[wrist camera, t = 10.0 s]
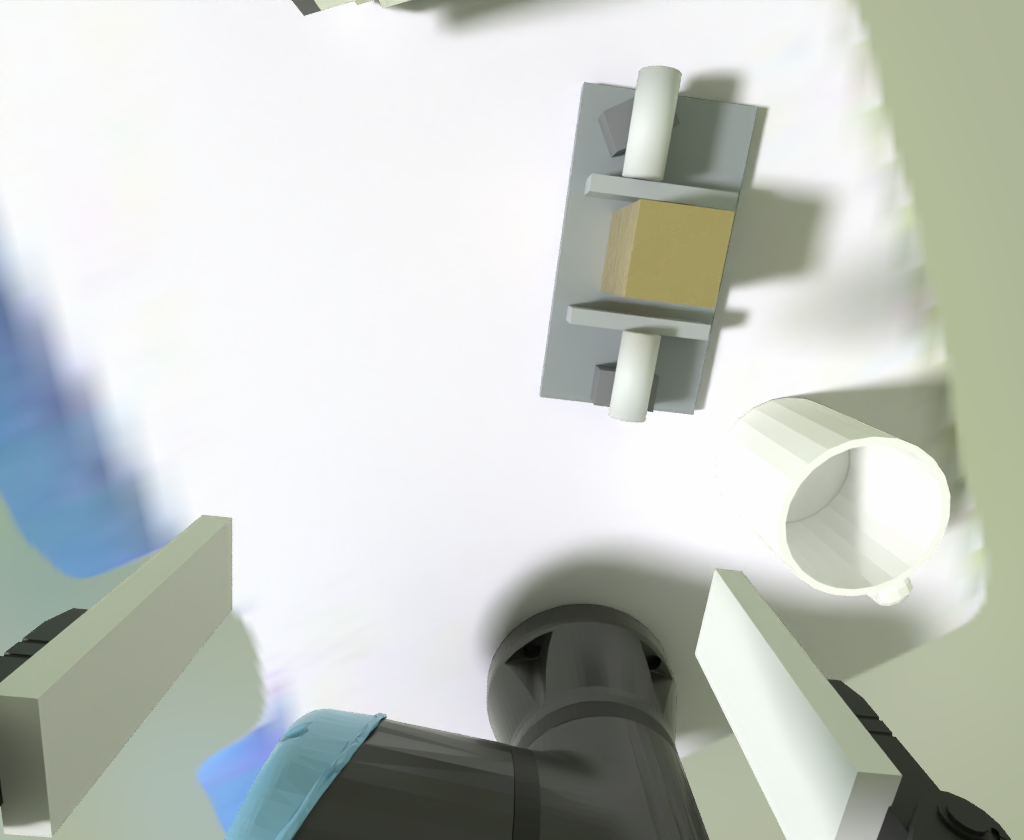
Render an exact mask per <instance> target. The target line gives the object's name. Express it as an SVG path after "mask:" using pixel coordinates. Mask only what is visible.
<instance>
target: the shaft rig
mask: <svg viewBox="0 0 1024 840" xmlns="http://www.w3.org/2000/svg"><path fill="white" fill-rule="evenodd" d="M681 76H682V73H681V72H680V71H679V70H677V69H674V68H671V67H666V66H648V67H644V68H642V69H640V70H639V73H638V79H637V85H636V90H635V89H628V88H621V87H614V86H607V85H600V84H593V83H586V82H584V84H583V86H582V91H581V98H580V105H579V113H578V120H577V127H576V134H575V141H574V149H573V156H572V163H571V170H570V178H569V185H568V192H567V199H566V207H565V214H564V221H563V228H562V236H561V243H560V250H559V257H558V264H557V272H556V279H555V286H554V293H553V301H552V308H551V315H550V322H549V330H548V337H547V344H546V351H545V358H544V366H543V373H542V380H541V387H540V397H546V398H555V399H563V400H572V401H580V402H589V403H594V405H599V406H607V407H610V408H609V414H608V415H609V416H610V417H612V418H615V419H618V420H622V421H627V422H644V421H645V419H646V414H647V411H650V412H653V410H657V411H666V412H674V413H683V414H691V415H693V414H694V409H695V404H696V399H697V395H698V390H699V385H700V380H701V376H702V371H703V366H704V361H705V356H706V352H707V347H708V342H709V337H710V333H711V328H712V323H713V318H714V314H715V309H716V306H715V308H708V307H700V306H692V305H684V304H676V303H668V302H660V301H652V300H644V299H636V298H628V297H622V296H618V295H614V294H610V293H606V292H602V291H600V289H601V282H602V276H603V270H604V263H605V257H606V251H607V244H608V238H609V232H610V225H611V219H612V213H613V212H615V211H617V210H619V209H621V208H623V207H626V206H628V205H630V204H632V203H634V202H636V201H638V200H640V199H645V200H652V201H659V202H667V203H674V204H682V205H689V206H697V207H704V208H712V209H719V210H727V211H734V212H735V213H736V208H737V204H738V199H739V194H740V189H741V185H742V180H743V175H744V170H745V165H746V161H747V156H748V151H749V146H750V142H751V137H752V132H753V127H754V122H755V118H756V113H757V108H758V107H754V106H747V105H740V104H733V103H726V102H719V101H712V100H705V99H698V98H691V97H684V96H678V93H679V87H680V81H681ZM734 218H735V215H734ZM733 223H734V219H733ZM732 228H733V224H732ZM731 232H732V229H731ZM730 237H731V234H730ZM729 242H730V239H729ZM728 247H729V243H728ZM727 251H728V248H727ZM726 256H727V253H726ZM725 261H726V258H725ZM724 266H725V262H724ZM723 271H724V267H723ZM722 275H723V272H722ZM721 280H722V277H721ZM720 285H721V282H720ZM719 290H720V286H719ZM718 294H719V291H718ZM717 299H718V296H717ZM716 304H717V301H716Z"/></svg>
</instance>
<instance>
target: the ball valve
mask: <svg viewBox="0 0 1024 840" xmlns="http://www.w3.org/2000/svg"><path fill="white" fill-rule="evenodd" d="M292 1H293V2H294V4H295V5H296V6H297V7H298V9H299V10H300V11H301V12H302V14H303V15H304V16H305V15H308V14H312V13H315V12H319V11H322V10H325V9H329V8H332V7H335V6H339V5H342V4H346V3H349V2H352V1H354V2H355V3H356V4H357V5H359V4H363V3H366V2H369V1H373V0H292ZM406 1H410V0H379V2H380V4H381V6H382V8H386V7H389V6H393V5H396V4H400V3H403V2H406Z"/></svg>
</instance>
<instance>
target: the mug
mask: <svg viewBox="0 0 1024 840" xmlns="http://www.w3.org/2000/svg"><path fill="white" fill-rule="evenodd" d="M716 474H717V483H718V485H719V488H720V490H721V493H722V495H723V497H724V498H725V500H726V501H727V502H728V504H729V505H730V506H731V507H732V509H733V510H734V511H735V512H736V513H737V514H738V515H739V516H740V517H741V518H742V519H743V520H744V521H745V522H746V523H747V525H748V526H749V527H750V528H751V529H752V530H753V531H754V532H755V533H756V534H757V535H758V536H759V537H760V538H761V539H762V540H763V541H764V542H765V543H766V545H767V546H768V547H769V548H770V549H771V550H772V551H773V552H774V553H775V554H776V555H777V556H778V557H779V558H780V559H781V560H782V561H783V562H784V564H785V565H786V566H787V567H788V568H789V569H790V570H791V571H792V572H793V573H794V574H795V575H796V576H797V577H798V578H800V579H801V580H802V581H804V582H805V583H807V584H808V585H810V586H811V587H812V588H814V589H817V590H820V591H823V592H826V593H829V594H832V595H843V596H859V595H866V594H867V595H868V596H869V597H871V598H872V599H873V600H874V601H875V602H877V603H879V604H880V605H884V606H891V605H894V604H898V603H900V602H902V601H903V600H904V599H906V598H907V597H908V596H909V594H910V591H911V589H912V584H911V582H910V579H909V578H908V577H909V576H911V575H912V574H914V573H915V572H916V571H917V570H918V569H919V568H920V567H921V566H922V565H923V564H924V563H925V562H926V561H927V560H928V559H929V558H930V557H931V556H932V555H933V553H934V551H935V550H936V548H937V546H938V545H939V543H940V541H941V540H942V538H943V536H944V533H945V530H946V527H947V524H948V520H949V517H950V492H949V488H948V485H947V481H946V477H945V475H944V473H943V472H942V470H941V469H940V467H939V466H938V464H937V463H936V461H935V460H934V459H933V458H932V457H931V456H929V455H928V454H927V453H926V452H924V451H923V450H922V449H920V448H919V447H918V446H916V445H914V444H911V443H909V442H907V441H904V440H902V439H900V438H897V437H895V436H893V435H890V434H888V433H886V432H884V431H881V430H879V429H877V428H874V427H872V426H870V425H867V424H865V423H863V422H860V421H858V420H856V419H854V418H851V417H849V416H847V415H844V414H842V413H840V412H837V411H835V410H833V409H830V408H828V407H826V406H823V405H821V404H818V403H816V402H813V401H810V400H808V399H802V398H791V397H787V398H781V399H775V400H770V401H768V402H765V403H763V404H761V405H758V406H756V407H754V408H752V409H751V410H750V411H748V412H747V413H746V414H744V415H743V416H742V417H740V418H739V419H738V420H737V421H736V422H735V424H734V425H733V426H732V427H731V428H730V430H729V431H728V432H727V433H726V435H725V438H724V440H723V442H722V444H721V446H720V448H719V452H718V457H717V462H716Z"/></svg>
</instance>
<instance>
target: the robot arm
mask: <svg viewBox="0 0 1024 840" xmlns="http://www.w3.org/2000/svg"><path fill="white" fill-rule="evenodd" d="M231 610H232V518H228V517H218V516H208V515H202V516H201V517H200V518H198V519H197V520H196V521H195V522H194V523H192V524H191V525H190V526H189V527H188V528H186V529H185V530H184V531H183V532H181V533H180V534H179V535H178V536H177V537H175V538H174V539H173V540H172V541H171V542H169V543H168V544H167V545H166V546H165V547H163V548H162V549H161V550H160V551H159V552H157V553H156V554H155V555H154V556H153V557H151V558H150V559H149V560H148V561H146V562H145V563H144V564H143V565H142V566H140V567H139V568H138V569H137V570H136V571H135V572H133V573H132V574H131V575H130V576H128V577H127V578H126V579H125V580H124V581H122V582H121V583H120V584H119V585H118V586H116V587H115V588H114V589H113V590H111V591H110V592H109V593H108V594H107V595H105V596H104V597H103V598H102V599H101V600H99V601H98V602H97V603H96V604H95V605H93V606H92V607H91V608H90V609H89V610H86V609H75V608H73V609H71V610H68V611H66V612H64V613H62V614H60V615H58V616H56V617H54V618H51V619H49V620H48V621H45V622H44V623H42V624H41V625H40V626H38V627H37V628H36V629H35V630H33V631H32V632H31V633H29V634H28V635H27V636H26V637H24V638H23V641H22V642H18V643H16V644H15V645H14V646H13V647H11V648H10V649H9V650H7V651H6V652H5V654H4V656H0V806H1V810H2V819H3V827H4V833H5V834H15V835H28V836H40V837H52V836H53V835H54V834H55V833H56V832H57V830H58V829H59V828H60V826H61V825H62V824H63V823H64V821H65V820H66V819H67V818H68V816H69V815H70V814H71V813H72V811H73V810H74V809H75V807H76V806H77V805H78V803H79V802H80V801H81V800H82V799H83V797H84V796H85V795H86V794H87V792H88V791H89V790H90V789H91V787H92V786H93V785H94V783H95V782H96V781H97V780H98V778H99V777H100V776H101V775H102V773H103V772H104V771H105V769H106V768H107V767H108V766H109V764H110V763H111V762H112V761H113V759H114V758H115V757H116V756H117V754H118V753H119V752H120V751H121V749H122V748H123V747H124V745H125V744H126V743H127V742H128V740H129V739H130V738H131V737H132V735H133V734H134V733H135V732H136V730H137V729H138V728H139V726H140V725H141V724H142V723H143V721H144V720H145V719H146V718H147V716H148V715H149V714H150V713H151V711H152V710H153V709H154V707H155V706H156V705H157V703H158V702H159V701H160V700H161V699H162V697H163V696H164V695H165V693H166V692H167V691H168V690H169V688H170V687H171V686H172V685H173V683H174V682H175V681H176V680H177V678H178V677H179V676H180V675H181V673H182V672H183V671H184V669H185V668H186V667H187V666H188V664H189V663H190V662H191V661H192V659H193V658H194V657H195V655H196V654H197V653H198V652H199V650H200V649H201V648H202V647H203V645H204V644H205V643H206V641H207V640H208V639H209V638H210V637H211V635H212V634H213V633H214V631H215V630H216V629H217V628H218V626H219V625H220V624H221V623H222V621H223V620H224V619H225V617H226V616H227V615H228V614H229V612H230V611H231ZM695 656H696V658H697V660H698V662H699V664H700V666H701V668H702V670H703V672H704V674H705V676H706V678H707V680H708V682H709V684H710V686H711V688H712V690H713V692H714V694H715V696H716V698H717V700H718V702H719V704H720V706H721V708H722V710H723V712H724V714H725V716H726V718H727V720H728V722H729V724H730V726H731V728H732V730H733V732H734V734H735V736H736V738H737V740H738V742H739V744H740V746H741V748H742V750H743V752H744V754H745V756H746V758H747V761H748V763H749V765H750V767H751V769H752V771H753V773H754V775H755V777H756V779H757V781H758V783H759V785H760V787H761V789H762V790H763V793H764V795H765V797H766V799H767V801H768V803H769V805H770V807H771V809H772V811H773V813H774V815H775V817H776V819H777V821H778V823H779V825H780V827H781V829H782V831H783V833H784V835H785V837H786V839H787V840H1011V839H1010V837H1009V836H1008V835H1007V834H1006V832H1005V831H1004V830H1003V828H1002V827H1001V826H1000V825H999V824H998V823H997V822H996V821H995V820H994V819H993V818H991V817H990V816H989V815H988V814H987V813H986V812H985V811H983V810H982V809H980V808H978V807H977V806H975V805H974V804H972V803H970V802H969V801H967V800H965V799H963V798H961V797H959V796H956V795H954V794H951V793H949V792H944V791H940V790H939V789H938V787H937V786H936V785H935V784H934V782H933V781H932V780H931V779H930V778H929V776H928V775H927V774H926V773H925V772H924V770H923V769H922V768H921V767H920V766H919V764H918V763H917V762H916V761H915V760H914V758H913V757H912V756H911V755H910V754H909V752H908V751H907V750H906V749H905V748H904V746H903V745H902V744H901V743H900V742H899V741H898V739H897V738H896V737H893V736H892V732H891V731H890V730H889V728H888V727H887V726H886V725H885V724H884V723H883V721H880V720H879V717H878V716H877V714H876V713H875V712H874V711H873V709H872V708H871V707H870V706H869V705H868V703H867V702H866V701H865V700H864V699H863V698H862V697H861V696H860V695H858V694H857V693H856V692H854V691H853V690H852V689H851V688H849V687H848V686H847V685H845V684H844V683H843V682H842V681H839V680H829V679H826V678H825V676H824V675H823V674H822V673H821V671H820V670H819V669H818V667H817V666H816V665H815V664H814V662H813V661H812V660H811V659H810V657H809V656H808V655H807V653H806V652H805V651H804V650H803V648H802V647H801V646H800V645H799V643H798V642H797V641H796V639H795V638H794V637H793V636H792V634H791V633H790V632H789V631H788V629H787V628H786V627H785V625H784V624H783V623H782V622H781V620H780V619H779V618H778V617H777V615H776V614H775V613H774V611H773V610H772V609H771V608H770V606H769V605H768V604H767V603H766V601H765V600H764V599H763V597H762V596H761V595H760V594H759V592H758V591H757V590H756V589H755V587H754V586H753V585H752V583H751V582H750V581H749V580H748V578H747V577H746V576H745V575H744V573H743V572H742V571H734V570H724V569H715V571H714V575H713V579H712V583H711V588H710V592H709V596H708V600H707V605H706V609H705V613H704V617H703V622H702V626H701V630H700V634H699V639H698V643H697V647H696V651H695ZM676 702H677V695H676V686H675V681H674V677H673V673H672V670H671V668H670V665H669V663H668V660H667V658H666V656H665V653H664V651H663V649H662V647H661V645H660V644H659V642H658V641H657V639H656V638H655V637H654V635H653V634H652V633H651V632H650V631H649V630H648V629H647V628H646V627H645V626H644V625H642V624H641V623H640V622H638V621H637V620H635V619H634V618H632V617H630V616H629V615H627V614H624V613H622V612H620V611H617V610H614V609H611V608H607V607H603V606H597V605H568V606H562V607H557V608H553V609H550V610H547V611H544V612H542V613H539V614H537V615H535V616H533V617H531V618H530V619H528V620H526V621H525V622H523V623H522V624H520V625H519V626H518V627H517V628H515V629H514V630H513V631H512V632H511V633H510V634H509V635H508V636H507V637H506V638H505V640H504V641H503V642H502V643H501V645H500V646H499V648H498V649H497V651H496V653H495V655H494V657H493V659H492V662H491V665H490V669H489V673H488V681H487V711H488V716H489V721H490V725H491V728H492V730H493V733H494V735H495V738H496V740H497V742H495V741H490V740H485V739H480V738H475V737H470V736H465V735H461V734H456V733H451V732H446V731H441V730H436V729H431V728H426V727H421V726H416V725H412V724H407V723H402V722H397V721H393V720H388V719H386V714H382V713H378V714H376V715H374V716H373V715H366V714H359V713H353V712H346V711H339V710H333V709H320V710H315V711H312V712H310V713H308V714H306V715H304V716H302V717H301V718H300V719H298V720H297V721H296V722H295V723H294V724H293V725H292V726H291V727H290V728H289V729H288V730H287V731H286V733H285V734H284V735H283V736H282V738H281V739H280V740H279V742H278V743H277V745H276V746H275V748H274V749H273V751H272V752H271V754H270V756H269V757H268V759H267V760H266V762H265V764H264V765H263V767H262V769H261V770H260V772H259V774H258V776H257V777H256V779H255V781H254V783H253V785H252V786H251V788H250V790H249V792H248V794H247V796H246V797H245V799H244V801H243V803H242V805H241V807H240V809H239V811H238V813H237V815H236V817H235V819H234V821H233V823H232V825H231V827H230V829H229V831H228V833H227V835H226V837H225V839H224V840H709V837H708V835H707V832H706V829H705V826H704V824H703V821H702V818H701V816H700V813H699V810H698V808H697V805H696V802H695V799H694V796H693V794H692V791H691V788H690V785H689V783H688V780H687V777H686V775H685V772H684V769H683V766H682V764H681V761H680V758H679V756H678V753H677V750H676V747H675V732H676Z"/></svg>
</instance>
